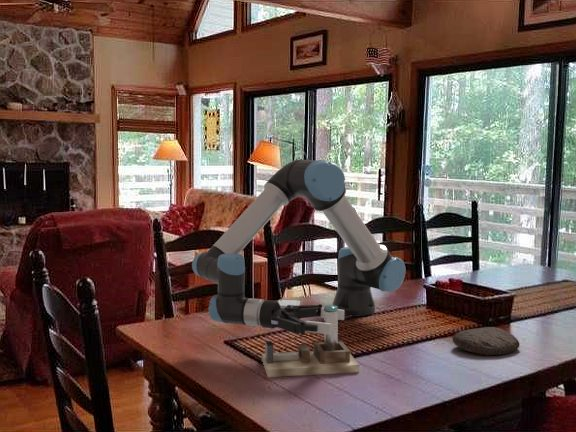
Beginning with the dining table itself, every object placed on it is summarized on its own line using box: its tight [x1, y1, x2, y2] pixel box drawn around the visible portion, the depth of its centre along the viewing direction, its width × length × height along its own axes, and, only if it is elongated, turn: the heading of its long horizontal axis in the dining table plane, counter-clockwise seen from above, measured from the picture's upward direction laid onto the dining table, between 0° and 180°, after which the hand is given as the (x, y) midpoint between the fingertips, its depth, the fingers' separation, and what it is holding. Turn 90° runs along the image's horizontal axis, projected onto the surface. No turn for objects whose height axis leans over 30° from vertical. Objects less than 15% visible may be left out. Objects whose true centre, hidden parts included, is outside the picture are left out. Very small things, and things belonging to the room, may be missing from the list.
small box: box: [277, 299, 301, 308], centre depth 207 cm, size 8×8×5 cm
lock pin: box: [264, 340, 299, 363], centre depth 160 cm, size 9×4×5 cm, turn 100°
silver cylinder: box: [323, 304, 339, 351], centre depth 162 cm, size 4×4×14 cm
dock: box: [261, 341, 360, 378], centre depth 161 cm, size 24×12×5 cm, turn 100°
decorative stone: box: [452, 326, 520, 356], centre depth 177 cm, size 20×14×5 cm
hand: (337, 321), depth 161 cm, fingers open, 13 cm apart
